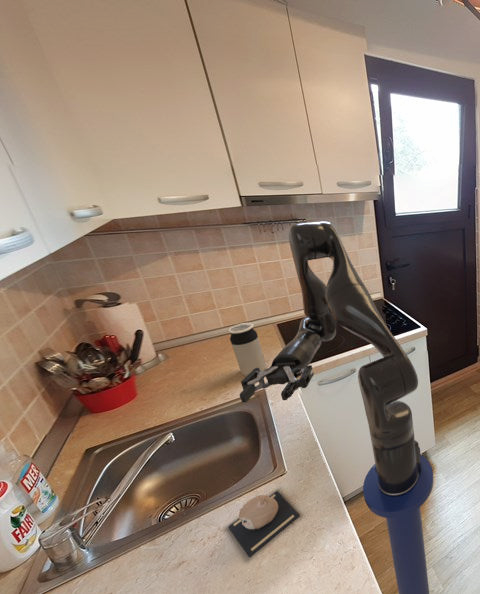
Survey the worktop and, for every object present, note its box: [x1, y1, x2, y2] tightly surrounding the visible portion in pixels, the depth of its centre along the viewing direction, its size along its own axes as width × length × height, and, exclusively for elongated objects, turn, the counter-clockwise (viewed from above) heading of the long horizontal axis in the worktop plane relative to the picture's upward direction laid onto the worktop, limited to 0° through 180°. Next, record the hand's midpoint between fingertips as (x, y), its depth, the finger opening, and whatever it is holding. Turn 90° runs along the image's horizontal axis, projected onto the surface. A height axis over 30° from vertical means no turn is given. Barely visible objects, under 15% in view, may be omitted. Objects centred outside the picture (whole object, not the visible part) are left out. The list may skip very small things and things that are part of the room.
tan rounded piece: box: [238, 494, 278, 529], centre depth 69 cm, size 7×6×8 cm
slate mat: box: [228, 490, 300, 558], centre depth 71 cm, size 10×10×1 cm
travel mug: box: [227, 322, 268, 377], centre depth 119 cm, size 8×8×18 cm
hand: (263, 398), depth 72 cm, fingers open, 8 cm apart
